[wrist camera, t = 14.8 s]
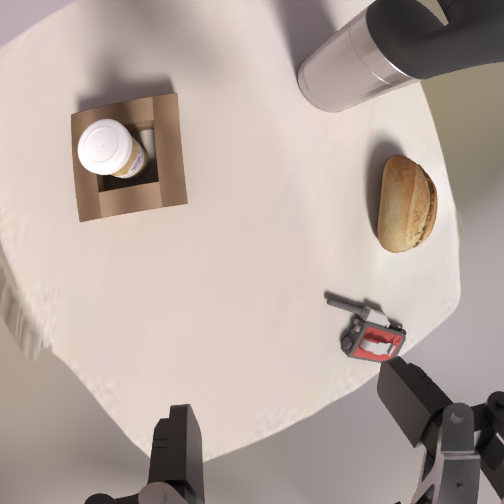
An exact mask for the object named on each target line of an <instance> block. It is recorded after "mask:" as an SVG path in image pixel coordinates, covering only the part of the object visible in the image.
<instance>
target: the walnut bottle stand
mask: <svg viewBox="0 0 504 504" xmlns="http://www.w3.org/2000/svg"><path fill="white" fill-rule="evenodd" d="M102 119H112V120H115V121H117V122H119V123H120V124H122V125H123V126H124V127H125V128H126V129H127V130H128V132H129V133H131V132H137V131H142V130H148V129H154V133H155V145H156V157H157V167H158V176H159V182H154V183H148V184H142V185H137V186H131V187H125V188H120V189H115V190H110V191H108V183H107V175H100V174H96V173H93V172H90V171H89V170H87V169H86V168H85V167H84V166H83V165H82V164H81V162H80V160H79V157H78V143H79V140H80V137H81V135H82V134H83V132H84V131H85V129H86V128H87V127H88V126H90V125H91V124H92V123H94V122H96V121H98V120H102ZM71 134H72V156H73V170H74V181H75V190H76V199H77V206H78V213H79V220H80V222H84V221H89V220H94V219H99V218H104V217H110V216H115V215H121V214H126V213H132V212H138V211H144V210H150V209H156V208H162V207H169V206H175V205H182V204H188V201H187V193H186V185H185V176H184V166H183V156H182V146H181V135H180V123H179V109H178V95H177V93H174V94H166V95H159V96H153V97H146V98H141V99H135V100H130V101H125V102H120V103H115V104H111V105H106V106H102V107H98V108H94V109H90V110H86V111H82V112H78V113H75V114H71Z"/></svg>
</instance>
